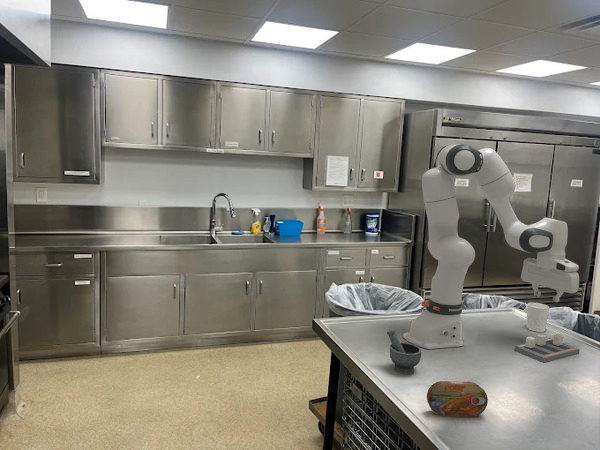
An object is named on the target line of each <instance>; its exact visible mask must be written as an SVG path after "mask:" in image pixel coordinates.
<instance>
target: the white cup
mask: <svg viewBox="0 0 600 450" xmlns="http://www.w3.org/2000/svg"><path fill="white" fill-rule="evenodd" d="M526 304H527V305H526V309H527V310H526V325H525V326H526V329H527V330H529V331H532V332H537V333H544V332H545V331H546V328H547V322H548V317H549V311H550V306H549V305H546V304H543V303H538V302H528V303H526Z"/></svg>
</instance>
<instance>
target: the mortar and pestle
mask: <svg viewBox="0 0 600 450" xmlns="http://www.w3.org/2000/svg"><path fill="white" fill-rule="evenodd" d="M386 335H387V336H388V337H389V340H390V345H389V356H390V360H391V361H392V363H393V364H394V366H393V368H394V371H396V372H397V373H398V374H399V373H400V374H404V375H410V374H412V373H415V367H416V366H417V365H418V364H419V363H420V361H421V359H422V347H419V346H417V345H415V344H413V343H410V342H401V341H400V339H399V337H398V335H397V333H396V329H394V328H393V329H392V328H391V329H389V330H387V332H386Z"/></svg>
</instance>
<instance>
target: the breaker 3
mask: <svg viewBox="0 0 600 450" xmlns="http://www.w3.org/2000/svg"><path fill="white" fill-rule="evenodd" d="M563 342H564V336H563V335H562V334H560V333H556V334H554V335H553V344H555V345H557V346H560V345H562V344H563Z"/></svg>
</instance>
